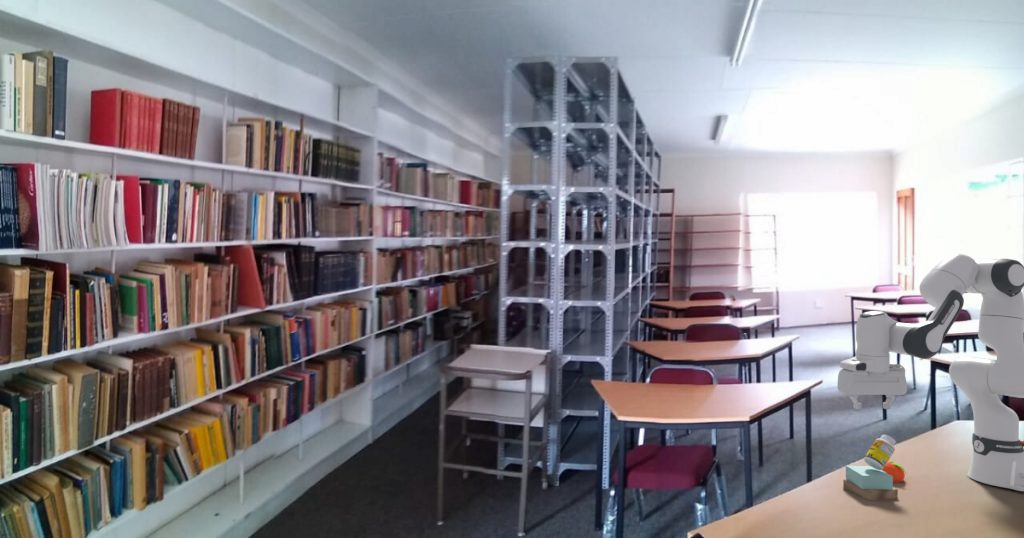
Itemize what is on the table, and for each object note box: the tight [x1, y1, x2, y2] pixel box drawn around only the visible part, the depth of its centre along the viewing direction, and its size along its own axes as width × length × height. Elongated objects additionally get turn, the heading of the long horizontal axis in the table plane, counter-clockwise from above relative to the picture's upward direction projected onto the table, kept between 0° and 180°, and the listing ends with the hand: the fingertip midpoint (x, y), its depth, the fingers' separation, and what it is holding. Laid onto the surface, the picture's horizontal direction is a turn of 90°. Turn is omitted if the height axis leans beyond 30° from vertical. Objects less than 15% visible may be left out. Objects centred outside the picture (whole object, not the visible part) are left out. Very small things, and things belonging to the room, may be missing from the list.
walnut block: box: [842, 478, 899, 501], centre depth 175 cm, size 10×10×4 cm
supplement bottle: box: [863, 434, 897, 470], centre depth 177 cm, size 6×6×10 cm
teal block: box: [845, 465, 894, 490], centre depth 176 cm, size 9×9×4 cm
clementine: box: [882, 461, 907, 483], centre depth 186 cm, size 8×7×7 cm
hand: (872, 408), depth 175 cm, fingers open, 8 cm apart
